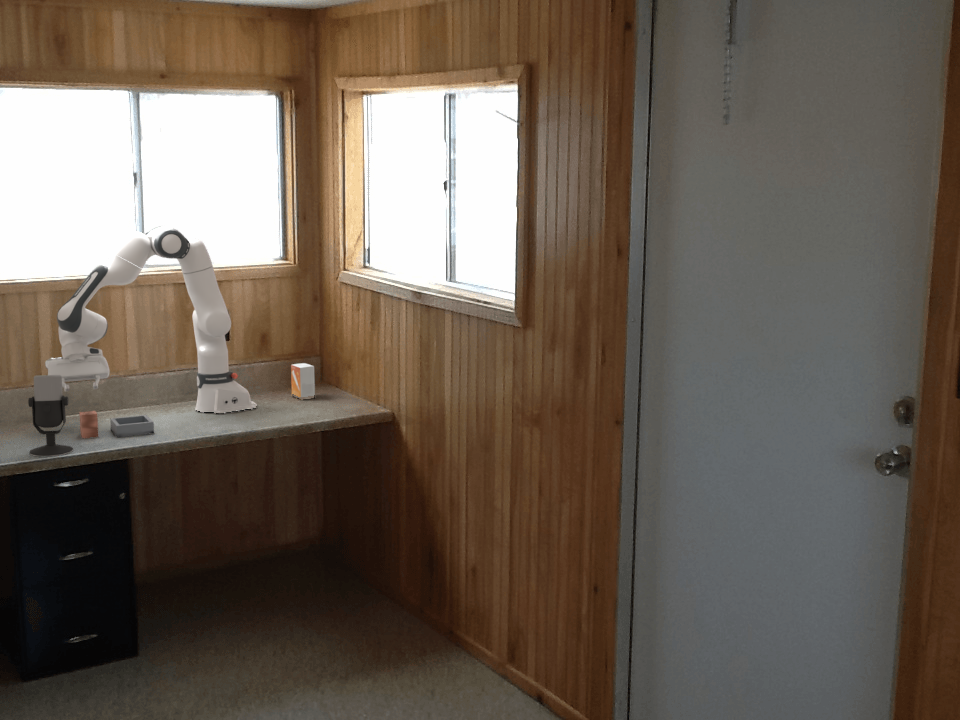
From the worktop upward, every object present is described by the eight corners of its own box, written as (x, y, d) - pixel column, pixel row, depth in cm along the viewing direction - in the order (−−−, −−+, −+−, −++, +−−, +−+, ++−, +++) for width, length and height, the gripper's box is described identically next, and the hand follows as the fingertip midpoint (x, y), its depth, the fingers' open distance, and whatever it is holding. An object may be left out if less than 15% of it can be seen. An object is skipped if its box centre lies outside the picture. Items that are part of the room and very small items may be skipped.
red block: (96, 433, 386) (94, 410, 385) (98, 436, 382) (97, 413, 381) (80, 435, 384) (79, 412, 383) (82, 438, 380) (81, 415, 378)
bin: (146, 426, 398) (146, 414, 397) (154, 433, 387) (153, 422, 386) (110, 429, 392) (110, 418, 391) (117, 437, 381) (116, 425, 381)
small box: (291, 397, 446) (290, 364, 444) (306, 395, 450) (305, 362, 447) (300, 400, 439) (299, 367, 437) (315, 398, 443) (314, 365, 441)
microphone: (75, 445, 370) (71, 370, 366) (69, 456, 358) (65, 377, 353) (33, 447, 368) (28, 371, 363) (26, 457, 355) (20, 379, 351)
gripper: (44, 353, 391) (50, 386, 384) (106, 349, 400) (112, 381, 393) (43, 364, 396) (49, 397, 389) (105, 359, 405) (111, 391, 398)
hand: (81, 389), depth 391 cm, fingers open, 8 cm apart
